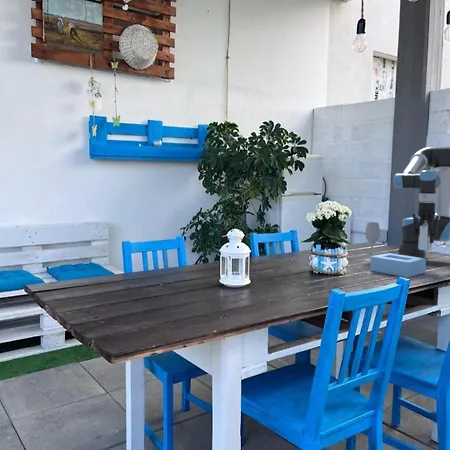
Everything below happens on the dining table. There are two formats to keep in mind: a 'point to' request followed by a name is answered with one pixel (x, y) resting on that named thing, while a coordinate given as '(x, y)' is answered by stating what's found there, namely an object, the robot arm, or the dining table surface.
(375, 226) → the wineglass
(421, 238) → the light grey tall block
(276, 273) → the dining table surface
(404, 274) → the well block
